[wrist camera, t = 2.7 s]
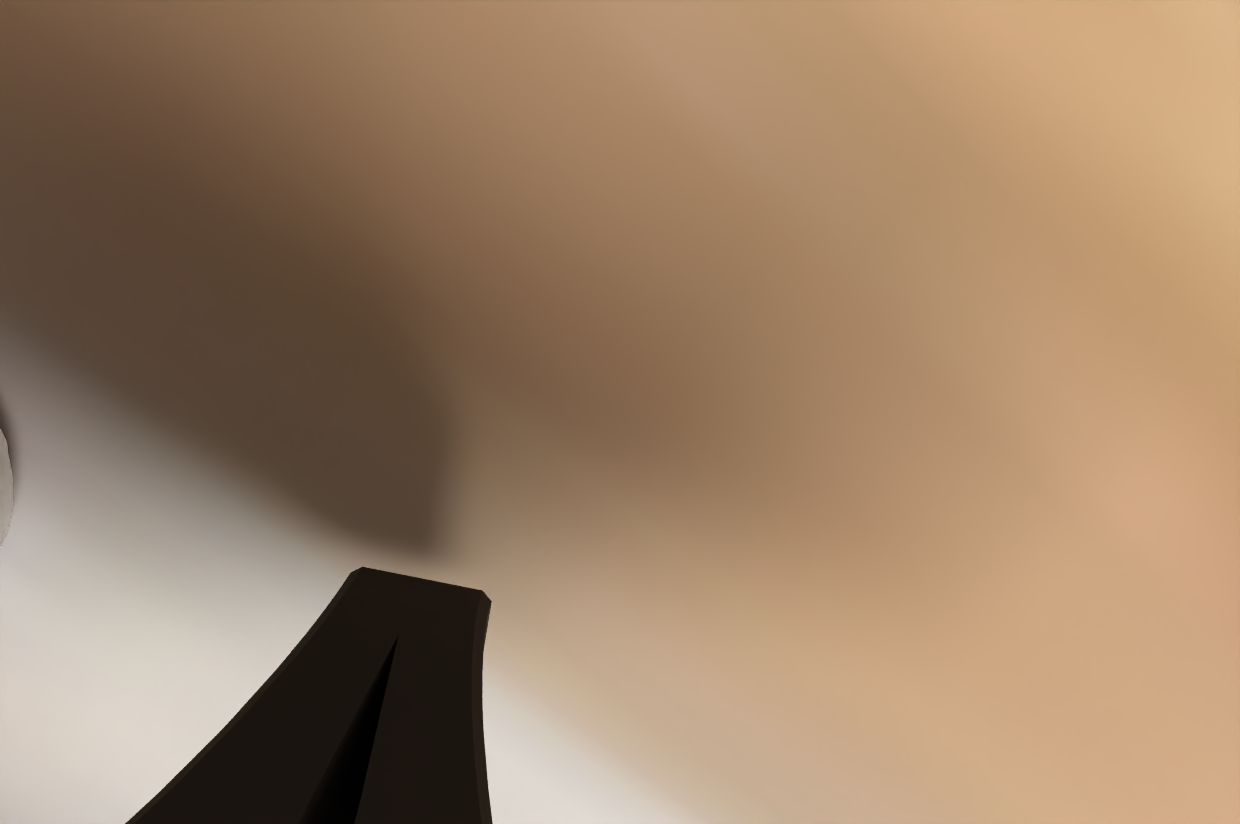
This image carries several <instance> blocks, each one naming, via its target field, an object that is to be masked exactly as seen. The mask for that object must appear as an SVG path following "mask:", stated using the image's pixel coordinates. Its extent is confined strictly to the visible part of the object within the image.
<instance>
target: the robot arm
mask: <svg viewBox="0 0 1240 824" xmlns="http://www.w3.org/2000/svg"><path fill="white" fill-rule="evenodd" d="M491 602H492V601H491V600H490V599H489V598H488V597H487V595H486V594H485V593H484V592H483V591H482V590H477V589H472V588H467V587H462V586H457V585H452V584H447V583H442V582H437V581H432V580H427V579H422V578H417V577H412V576H406V575H401V574H396V573H391V572H386V571H381V570H376V569H371V568H366V567H361V568H359V569H357V570H355V571H353V572H351V573H350V574H349V576H348V577H347V579H346V580H345V582H344V583H343V585H342V586H341V588H340V589H339V591H338V592H337V594H336V595H335V596H334V598H333V599H332V601H331V602H330V603H329V605H328V606H327V607H326V609H325V610H324V611H323V613H322V614H321V615H320V617H319V618H318V619H317V621H316V622H315V623H314V624H313V626H312V627H311V628H310V629H309V631H308V632H307V633H306V635H305V636H304V637H303V638H302V639H301V641H300V642H299V643H298V644H297V645H296V647H295V648H294V649H293V650H292V651H291V653H290V654H289V655H288V656H287V658H286V659H285V660H284V661H283V662H282V664H281V665H280V666H279V667H278V668H277V669H276V671H275V672H274V673H273V674H272V675H271V676H270V677H269V678H268V679H267V681H266V682H265V683H264V684H263V685H262V686H261V687H260V688H259V689H258V691H257V692H256V693H255V694H254V695H253V696H252V697H251V698H250V699H249V701H248V702H247V703H246V704H245V705H244V706H243V707H242V708H241V710H240V711H239V712H238V713H237V714H236V715H235V716H234V717H233V718H232V719H231V721H230V722H229V723H228V724H227V725H226V726H225V727H224V728H223V729H222V730H221V731H220V732H219V733H218V734H217V735H216V736H215V737H214V738H213V739H212V740H211V741H210V742H209V743H208V744H207V745H206V746H205V747H204V748H203V749H202V750H201V751H200V752H199V753H198V754H197V755H196V756H195V757H194V758H193V759H192V760H191V761H190V762H189V763H188V764H187V765H186V766H185V767H184V768H183V769H182V770H181V771H180V772H179V773H178V774H177V775H176V776H175V777H174V778H173V779H172V780H171V781H170V782H169V783H168V784H167V785H166V786H165V787H164V788H163V789H162V790H161V791H160V792H159V793H158V794H157V795H156V796H155V797H154V798H153V799H152V800H150V801H149V802H148V803H147V804H146V805H145V806H144V807H143V808H142V809H141V810H140V811H139V812H137V813H136V814H135V815H134V816H133V817H132V818H131V819H130V820H129V821H128V822H127V823H125V824H493V823H492V816H491V808H490V799H489V791H488V780H487V768H486V756H485V744H484V732H483V710H482V669H483V650H484V644H485V638H486V632H487V626H488V620H489V614H490V608H491Z"/></svg>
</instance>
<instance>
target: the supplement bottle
mask: <svg viewBox="0 0 1240 824" xmlns="http://www.w3.org/2000/svg"><path fill="white" fill-rule="evenodd" d="M12 511H13V477H12V469H11V464H10V459H9V455H8V446H7V441H6V439H5V437H4V435H3V433H2V431H1V429H0V548H1V546H2V544H3V541H4V539H5V536H6V534H7V531H8V529H9V526H10V521H11V516H12Z"/></svg>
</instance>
